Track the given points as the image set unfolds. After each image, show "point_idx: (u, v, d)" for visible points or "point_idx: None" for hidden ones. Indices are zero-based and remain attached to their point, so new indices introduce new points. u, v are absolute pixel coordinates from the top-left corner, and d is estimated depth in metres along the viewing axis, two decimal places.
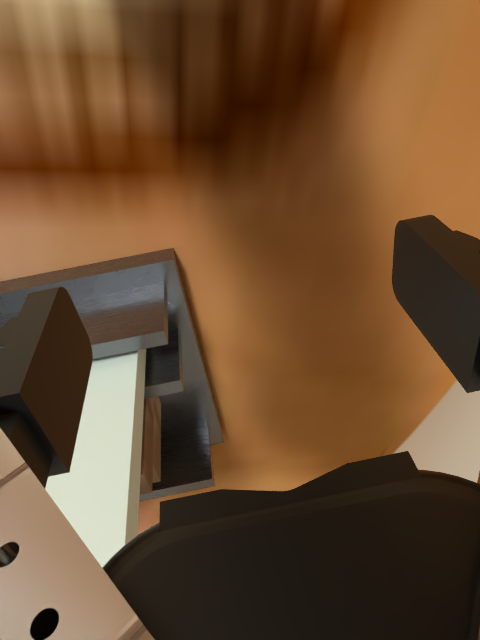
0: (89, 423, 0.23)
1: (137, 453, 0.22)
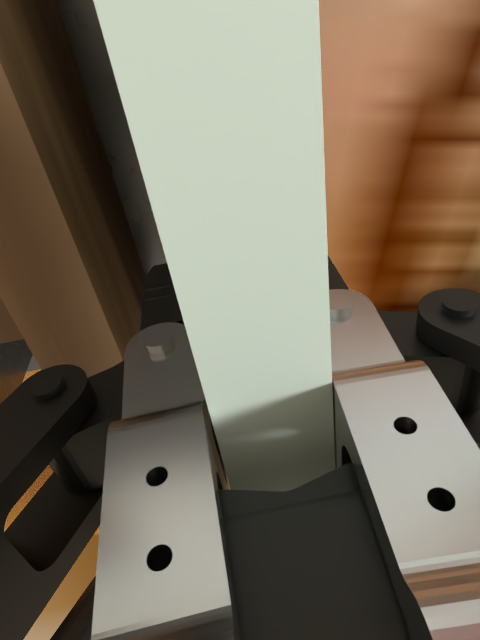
0: None
1: None
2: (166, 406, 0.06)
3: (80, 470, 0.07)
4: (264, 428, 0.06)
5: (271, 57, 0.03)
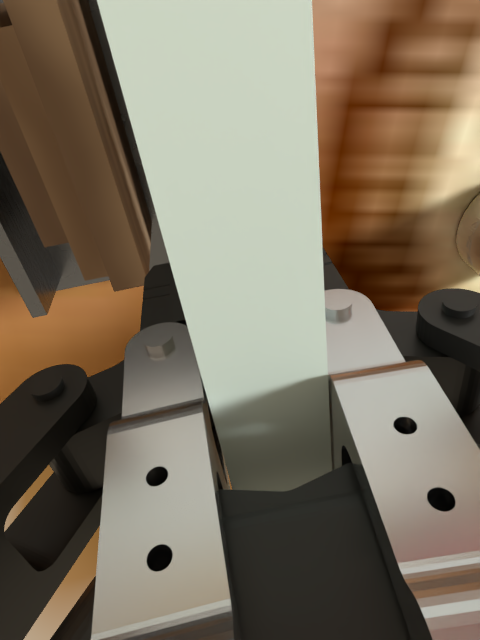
0: None
1: None
2: (166, 406, 0.06)
3: (80, 470, 0.07)
4: (262, 417, 0.06)
5: (266, 54, 0.04)
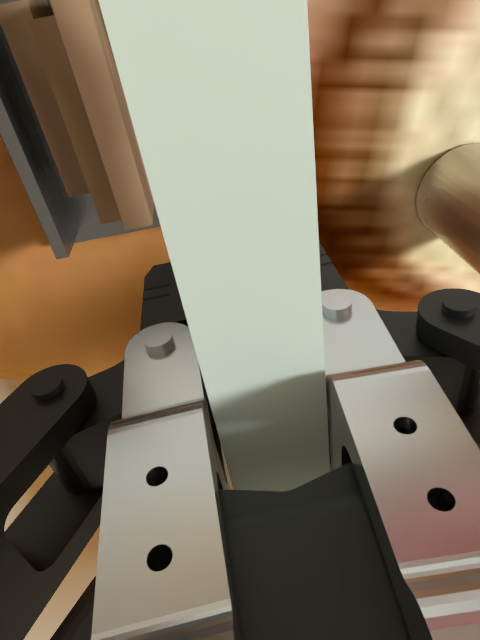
0: None
1: None
2: (166, 406, 0.06)
3: (80, 470, 0.07)
4: (261, 410, 0.06)
5: (263, 53, 0.04)
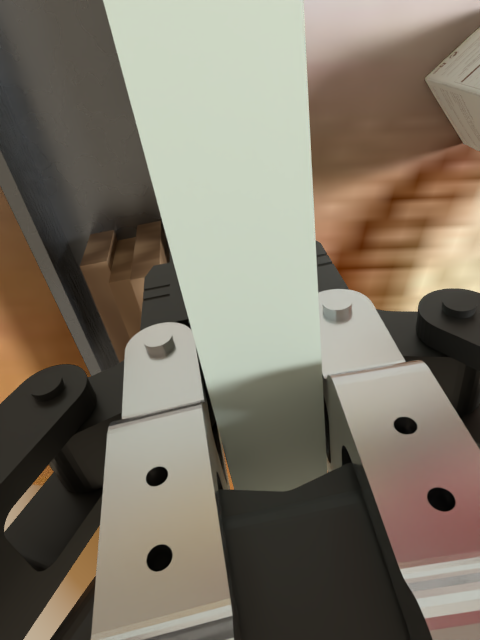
0: None
1: None
2: (166, 406, 0.06)
3: (80, 470, 0.07)
4: (258, 401, 0.06)
5: (261, 51, 0.04)
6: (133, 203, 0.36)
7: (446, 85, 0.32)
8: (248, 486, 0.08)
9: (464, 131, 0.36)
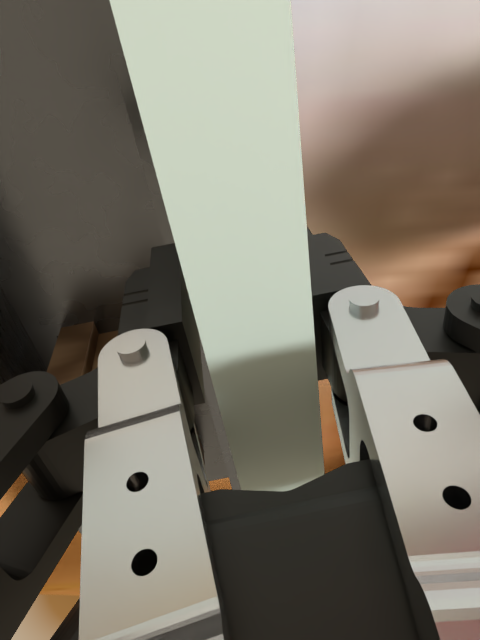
0: None
1: None
2: (143, 412, 0.06)
3: (55, 477, 0.07)
4: (256, 378, 0.07)
5: (254, 48, 0.04)
6: (120, 287, 0.26)
7: None
8: (248, 463, 0.08)
9: None
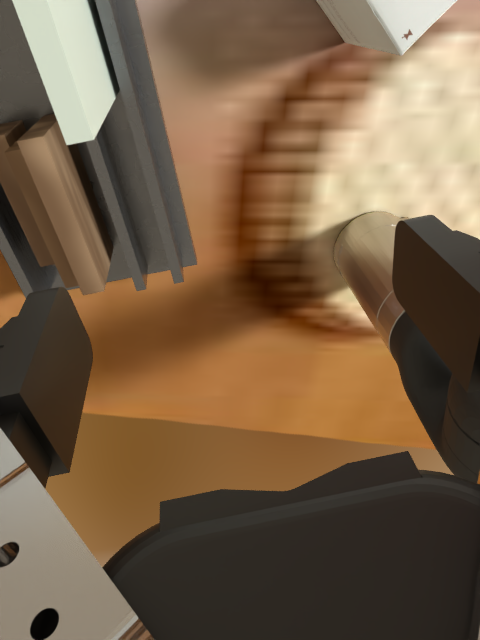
0: (99, 74, 0.32)
1: None
2: None
3: None
4: None
5: None
6: (37, 92, 0.40)
7: None
8: None
9: (337, 24, 0.39)
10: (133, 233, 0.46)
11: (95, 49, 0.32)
